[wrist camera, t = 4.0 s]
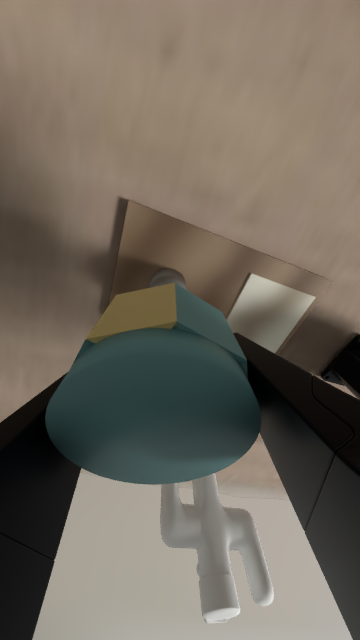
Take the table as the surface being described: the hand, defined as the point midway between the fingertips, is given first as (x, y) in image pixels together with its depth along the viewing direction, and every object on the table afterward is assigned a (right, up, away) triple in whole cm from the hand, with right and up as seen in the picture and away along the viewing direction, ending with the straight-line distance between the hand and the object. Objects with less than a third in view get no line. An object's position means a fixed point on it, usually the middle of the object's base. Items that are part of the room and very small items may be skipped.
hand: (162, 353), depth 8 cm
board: (+4, +4, +10) cm, 11 cm away
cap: (0, 0, 0) cm, 0 cm away
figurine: (+3, -13, +19) cm, 23 cm away
